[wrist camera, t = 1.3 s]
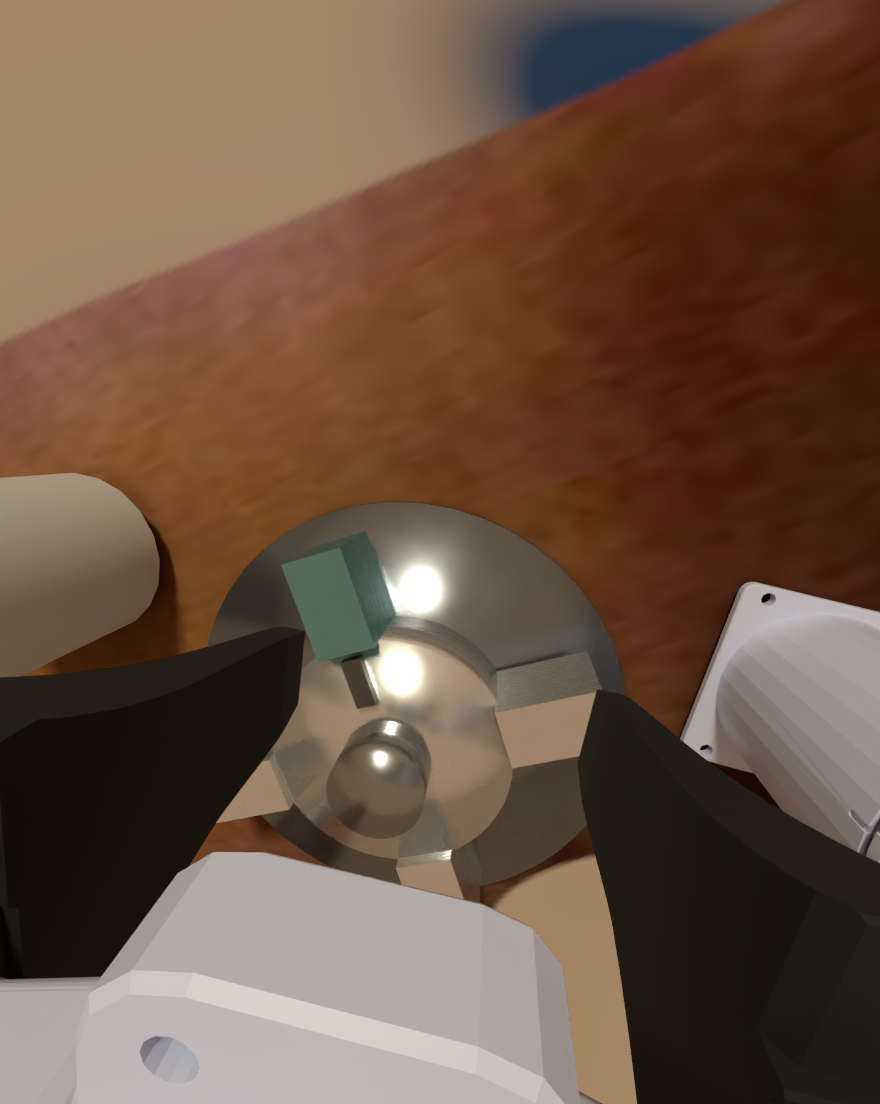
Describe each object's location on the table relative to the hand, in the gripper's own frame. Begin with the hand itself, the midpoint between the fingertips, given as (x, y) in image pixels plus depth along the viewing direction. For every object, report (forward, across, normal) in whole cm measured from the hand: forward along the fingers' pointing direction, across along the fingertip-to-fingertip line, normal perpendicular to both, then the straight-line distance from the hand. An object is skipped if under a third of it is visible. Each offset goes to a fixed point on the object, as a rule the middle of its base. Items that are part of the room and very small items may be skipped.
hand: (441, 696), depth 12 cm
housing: (+10, +2, +7) cm, 12 cm away
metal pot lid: (+10, +2, +7) cm, 12 cm away
